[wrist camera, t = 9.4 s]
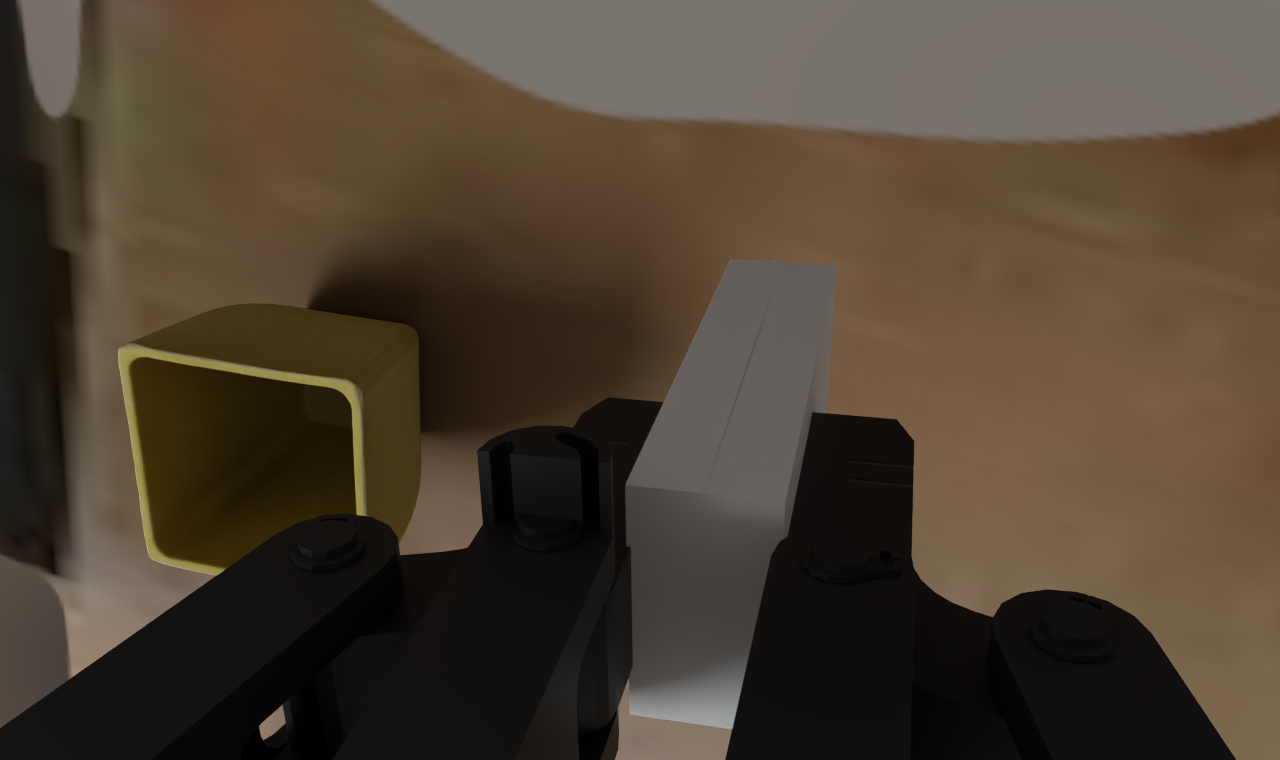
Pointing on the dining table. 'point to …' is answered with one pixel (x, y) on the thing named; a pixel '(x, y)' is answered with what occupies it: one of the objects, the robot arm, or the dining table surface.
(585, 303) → the dining table surface
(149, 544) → the flower pot
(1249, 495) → the dining table surface
